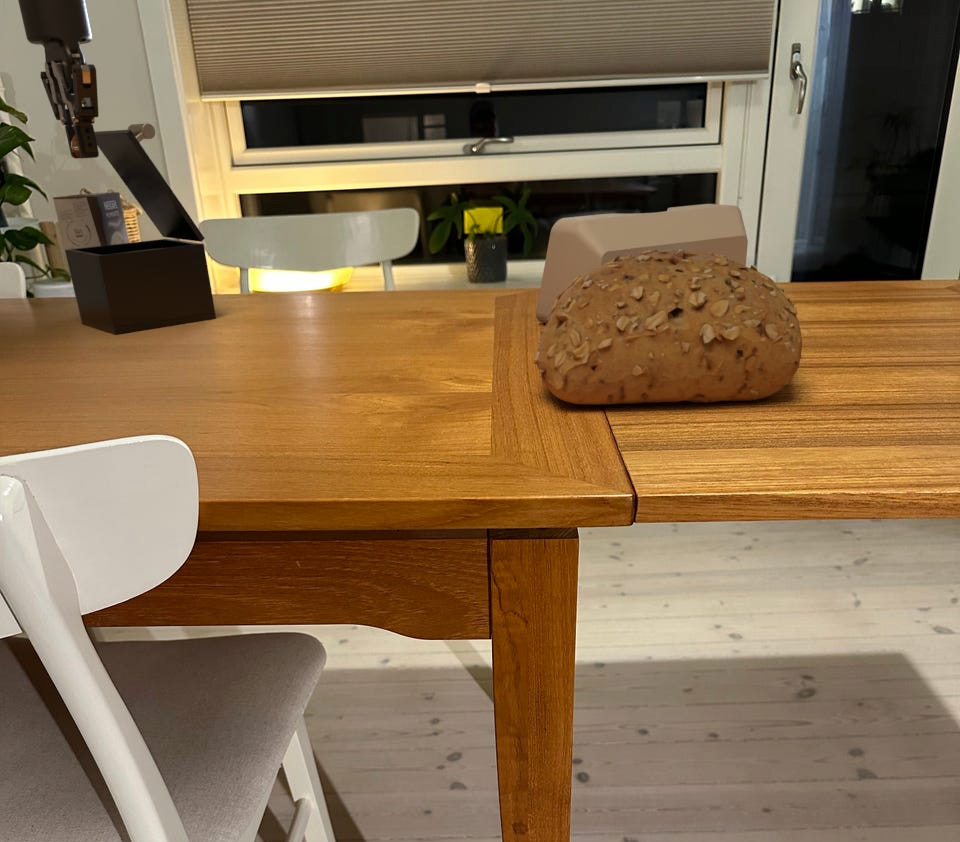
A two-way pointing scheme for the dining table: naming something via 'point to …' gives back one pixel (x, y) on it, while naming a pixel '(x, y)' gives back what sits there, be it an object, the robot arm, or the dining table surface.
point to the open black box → (141, 285)
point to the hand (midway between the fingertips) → (85, 157)
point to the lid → (147, 181)
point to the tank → (636, 241)
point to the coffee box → (91, 220)
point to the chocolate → (75, 146)
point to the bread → (669, 332)
